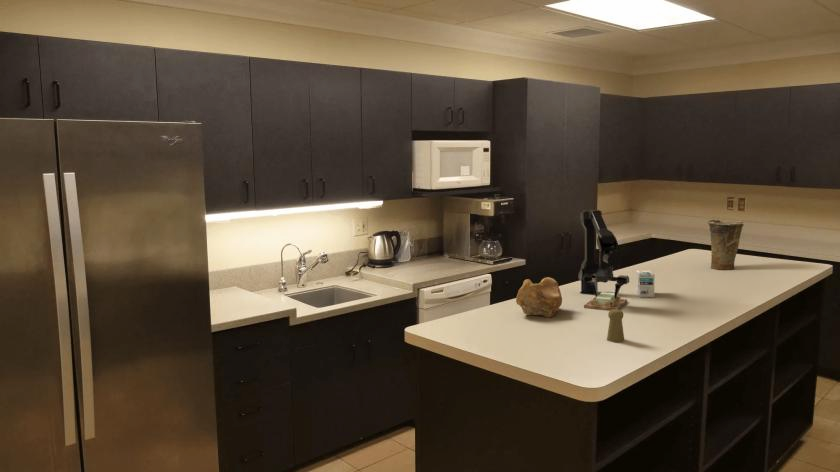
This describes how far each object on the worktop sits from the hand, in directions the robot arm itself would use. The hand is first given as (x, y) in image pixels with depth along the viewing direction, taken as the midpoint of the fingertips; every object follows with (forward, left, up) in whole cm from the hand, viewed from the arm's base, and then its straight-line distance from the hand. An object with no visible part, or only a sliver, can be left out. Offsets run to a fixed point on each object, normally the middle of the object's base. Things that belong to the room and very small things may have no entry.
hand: (605, 297), depth 276 cm
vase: (+36, +111, -4) cm, 117 cm away
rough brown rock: (-19, -26, -4) cm, 32 cm away
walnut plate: (0, 0, -3) cm, 3 cm away
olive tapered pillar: (+17, -50, -4) cm, 53 cm away
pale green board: (0, 0, -2) cm, 2 cm away
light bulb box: (+11, +27, -4) cm, 29 cm away
